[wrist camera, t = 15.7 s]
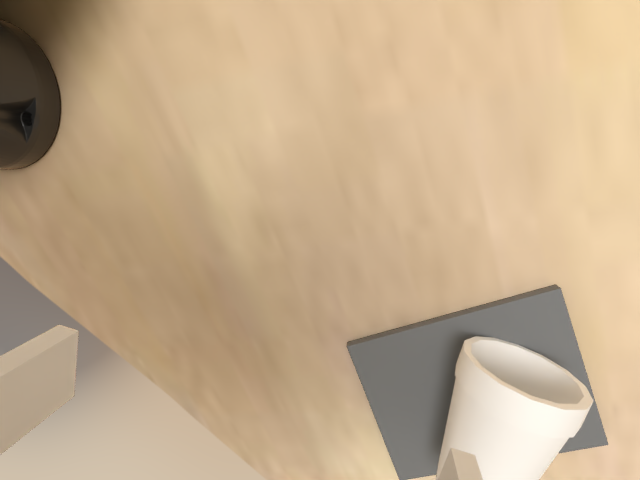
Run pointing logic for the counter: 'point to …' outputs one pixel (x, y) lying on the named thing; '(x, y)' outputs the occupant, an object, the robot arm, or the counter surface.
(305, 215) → the counter surface
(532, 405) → the foam cup
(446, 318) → the mat
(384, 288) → the counter surface
